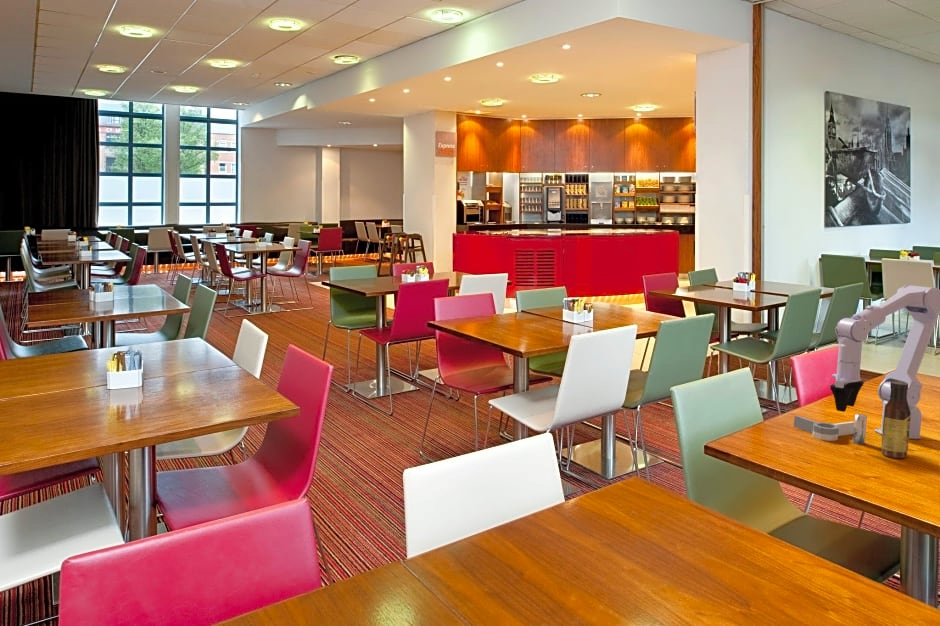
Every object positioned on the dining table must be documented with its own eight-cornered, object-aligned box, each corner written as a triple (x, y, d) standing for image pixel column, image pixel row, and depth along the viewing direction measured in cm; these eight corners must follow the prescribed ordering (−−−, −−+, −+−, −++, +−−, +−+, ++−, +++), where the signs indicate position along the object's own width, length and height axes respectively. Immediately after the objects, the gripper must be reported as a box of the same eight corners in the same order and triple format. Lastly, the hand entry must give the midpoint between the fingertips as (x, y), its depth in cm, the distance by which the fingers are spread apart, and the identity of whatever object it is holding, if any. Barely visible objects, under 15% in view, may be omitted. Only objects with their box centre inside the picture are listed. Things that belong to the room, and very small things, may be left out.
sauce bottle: (911, 460, 191) (918, 386, 188) (885, 458, 192) (892, 385, 189) (901, 452, 197) (908, 380, 194) (876, 450, 198) (883, 379, 195)
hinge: (826, 441, 205) (827, 429, 205) (786, 427, 218) (787, 416, 218) (862, 436, 211) (863, 424, 210) (821, 423, 224) (822, 412, 223)
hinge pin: (860, 441, 206) (863, 413, 205) (866, 444, 203) (869, 416, 202) (850, 441, 206) (852, 413, 205) (856, 444, 203) (858, 416, 202)
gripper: (842, 355, 211) (838, 400, 213) (825, 362, 201) (821, 410, 203) (868, 359, 206) (864, 405, 208) (852, 366, 196) (848, 415, 198)
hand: (845, 408), depth 205 cm, fingers open, 7 cm apart
